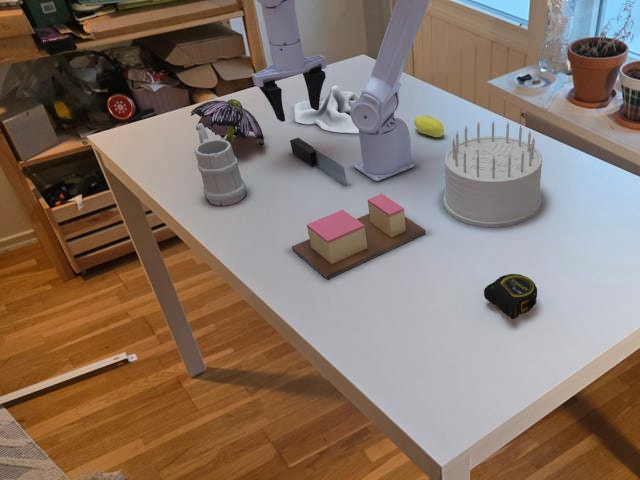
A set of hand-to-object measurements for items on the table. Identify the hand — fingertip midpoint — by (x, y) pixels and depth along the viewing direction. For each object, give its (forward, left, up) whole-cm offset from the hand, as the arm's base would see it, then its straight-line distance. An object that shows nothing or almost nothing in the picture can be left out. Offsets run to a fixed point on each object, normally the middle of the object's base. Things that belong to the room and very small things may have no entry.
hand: (298, 114), depth 127 cm
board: (+9, +33, -9) cm, 35 cm away
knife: (0, +5, -9) cm, 11 cm away
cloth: (-17, -14, -10) cm, 24 cm away
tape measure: (+2, +63, -10) cm, 64 cm away
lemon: (-26, +8, -10) cm, 29 cm away
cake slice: (+3, +33, -9) cm, 35 cm away
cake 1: (+13, +33, -9) cm, 37 cm away
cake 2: (-17, +38, -10) cm, 43 cm away
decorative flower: (+9, -14, -10) cm, 19 cm away
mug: (+19, +1, -10) cm, 21 cm away
